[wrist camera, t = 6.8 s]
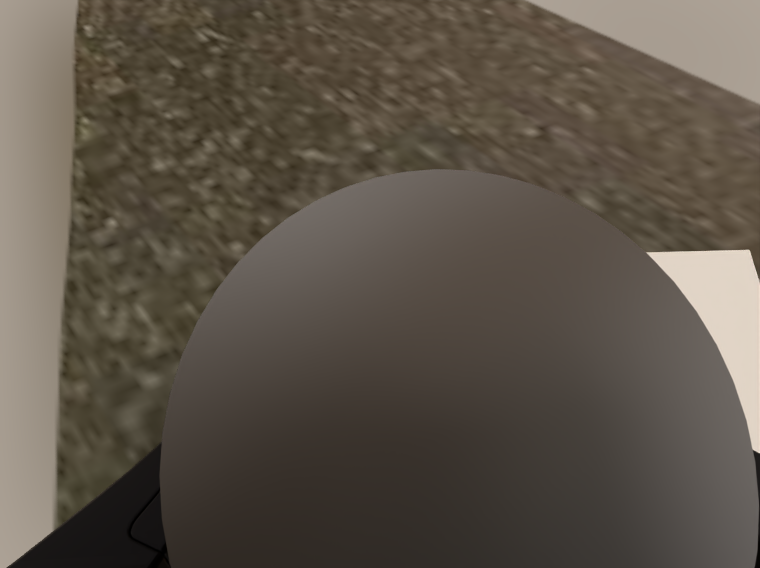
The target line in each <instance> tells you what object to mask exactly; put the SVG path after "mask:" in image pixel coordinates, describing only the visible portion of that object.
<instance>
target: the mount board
mask: <svg viewBox="0 0 760 568" xmlns="http://www.w3.org/2000/svg"><path fill="white" fill-rule="evenodd" d="M647 254H648V255H649V256H650V257H651V258H652V259H653V260H654V261H655V262H656V263H657V264H658V265H659V266H660V267H661V268H662V269H663V271H664V272H665V273H666V274H667V275H668V276H669V277H670V278H671V279H672V280H673V281H674V282H675V284H676V285H677V286H678V288H679V289H680V290H681V292H682V293H683V294H684V295H685V297H686V298H687V299H688V301H689V302H690V303H691V305H692V306H693V307H694V309H695V310H696V311H697V313H698V315H699V316H700V318H701V320H702V321H703V323H704V324H705V326H706V328H707V329H708V331H709V333H710V334H711V336H712V338H713V339H714V341H715V343H716V344H717V346H718V349H719V351H720V353H721V355H722V357H723V359H724V362H725V364H726V366H727V368H728V370H729V372H730V375H731V377H732V379H733V381H734V384H735V387H736V390H737V393H738V396H739V399H740V402H741V405H742V408H743V411H744V414H745V417H746V420H747V425H748V430H749V434H750V439H751V444H752V449H753V450H754V451H756V452H758V453H760V282H759V279H758V276H757V273H756V269H755V266H754V263H753V260H752V257H751V253H750V250H729V251H688V252H647Z"/></svg>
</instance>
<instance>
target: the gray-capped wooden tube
mask: <svg viewBox="0 0 760 568" xmlns="http://www.w3.org/2000/svg"><path fill="white" fill-rule="evenodd" d="M160 493H161V512H162V522H163V528H164V534H165V539H166V545H167V551H168V556H169V562H170V566H171V568H755V562H756V556H757V550H758V522H759V499H758V487H757V476H756V465H755V458H754V454H753V449H752V444H751V439H750V434H749V430H748V425H747V420H746V417H745V414H744V411H743V408H742V405H741V402H740V399H739V396H738V393H737V390H736V387H735V384H734V381H733V379H732V377H731V375H730V372H729V370H728V368H727V366H726V364H725V362H724V359H723V357H722V355H721V353H720V351H719V349H718V346H717V344H716V343H715V341H714V339H713V338H712V336H711V334H710V333H709V331H708V329H707V328H706V326H705V324H704V323H703V321H702V320H701V318H700V316H699V315H698V313H697V311H696V310H695V309H694V307H693V306H692V305H691V303H690V302H689V301H688V299H687V298H686V297H685V295H684V294H683V293H682V292H681V290H680V289H679V288H678V286H677V285H676V284H675V282H674V281H673V280H672V279H671V278H670V277H669V276H668V275H667V274H666V273H665V272H664V271H663V269H662V268H661V267H660V266H659V265H658V264H657V263H656V262H655V261H654V260H653V259H652V258H651V257H650V256H649V255H648V254H647V253H646V252H645V251H644V250H642V249H641V248H640V247H639V246H638V245H637V244H635V243H634V242H633V241H632V240H631V239H629V238H628V237H627V236H626V235H625V234H624V233H622V232H621V231H620V230H618V229H617V228H615V227H614V226H612V225H611V224H610V223H608V222H607V221H605V220H604V219H602V218H601V217H599V216H598V215H596V214H595V213H593V212H592V211H590V210H588V209H586V208H584V207H582V206H580V205H578V204H577V203H575V202H573V201H571V200H569V199H567V198H565V197H563V196H561V195H559V194H556V193H553V192H551V191H548V190H546V189H543V188H541V187H538V186H536V185H533V184H530V183H527V182H523V181H519V180H516V179H512V178H508V177H505V176H501V175H495V174H488V173H482V172H475V171H469V170H443V169H434V170H421V171H408V172H402V173H397V174H392V175H386V176H381V177H376V178H373V179H370V180H366V181H363V182H360V183H357V184H354V185H351V186H348V187H345V188H343V189H340V190H338V191H336V192H334V193H332V194H329V195H327V196H325V197H323V198H321V199H319V200H316V201H315V202H313V203H311V204H310V205H308V206H306V207H305V208H303V209H302V210H300V211H298V212H297V213H295V214H293V215H292V216H290V217H288V218H287V219H286V220H285V221H283V222H282V223H281V224H280V225H278V226H277V227H276V228H274V229H273V230H272V231H271V232H269V233H268V234H267V235H266V236H264V237H263V238H262V239H261V240H260V241H259V242H258V243H257V244H256V245H255V246H254V247H253V248H252V249H251V250H250V251H249V252H248V253H247V254H246V255H245V256H244V257H243V258H242V259H241V260H240V261H239V262H238V263H237V264H236V266H235V267H234V268H233V270H232V271H231V272H230V273H229V275H228V276H227V277H226V278H225V280H224V281H223V282H222V284H221V285H220V286H219V287H218V289H217V290H216V292H215V293H214V295H213V297H212V298H211V300H210V301H209V303H208V305H207V306H206V308H205V310H204V311H203V313H202V315H201V316H200V318H199V320H198V321H197V323H196V326H195V328H194V330H193V332H192V334H191V337H190V339H189V341H188V343H187V345H186V348H185V350H184V352H183V354H182V357H181V360H180V363H179V366H178V369H177V373H176V376H175V379H174V382H173V385H172V388H171V392H170V396H169V401H168V406H167V412H166V417H165V422H164V427H163V433H162V447H161V461H160Z"/></svg>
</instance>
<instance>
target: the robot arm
mask: <svg viewBox="0 0 760 568" xmlns="http://www.w3.org/2000/svg"><path fill="white" fill-rule="evenodd" d="M161 447H162V442H161V443H160V444H159V445H158V446H156V447H155V448H154V449H153V450H152V451H151V452H150V453H149V454H147V455H146V456H145V457H144V458H143V459H142V460H141V461H139V462H138V463H137V464H136V465H135V466H134V467H133V468H131V469H130V470H129V471H128V472H127V473H125V474H124V475H123V476H122V477H121V478H119V479H118V480H117V481H116V482H114V483H113V484H112V485H111V486H110V487H108V488H107V489H106V490H105V491H103V492H102V493H101V494H100V495H98V496H97V497H96V498H95V499H93V500H92V501H91V502H90V503H88V504H87V505H86V506H85V507H83V508H82V509H81V510H80V511H78V512H77V513H76V514H74V515H73V516H72V517H71V518H69V519H68V520H67V521H66V522H64V523H63V524H62V525H61V526H59V527H58V528H57V529H55V530H54V531H53V532H52V533H51V534H49V535H48V536H47V537H45V538H44V539H43V540H42V541H40V542H39V543H38V544H37V545H35V546H34V547H33V548H31V549H30V550H29V551H28V552H26V553H25V554H24V555H23V556H21V557H20V558H19V559H17V560H16V561H15V562H14V563H12V564H11V565H10V566H8V567H7V568H171V566H170V562H169V556H168V551H167V545H166V539H165V534H164V528H163V522H162V512H161V493H160V461H161ZM753 454H754V458H755V465H756V476H757V487H758V499H759V522H758V550H757V556H756V562H755V568H760V453H758V452H756V451H754V450H753Z"/></svg>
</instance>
